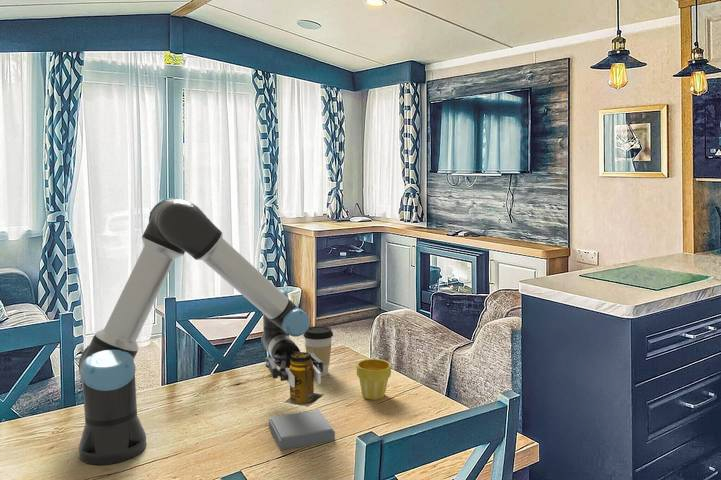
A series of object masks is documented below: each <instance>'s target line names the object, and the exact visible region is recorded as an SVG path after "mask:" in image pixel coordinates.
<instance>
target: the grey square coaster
mask: <svg viewBox="0 0 721 480" xmlns="http://www.w3.org/2000/svg"><path fill="white" fill-rule="evenodd" d="M268 429H269V430H270V432H271V433H270V434H271V435H272V436H273V438H274V441H275V442H276V444H277V446H278V448H279V450H280V451H283V450H288V449H289V450H290V449H294V448H300V447H305V446H309V445H316V444H322V443H327V442H333V441H335V440H336V434H335V433H336V431H335V430H334V428H333V427H332V425H331V424H330V423H329V421H328V420H327V419H326V417H325V416H324V415H323V413H322V412H321V411H320V409H314V410H309V411H308V410H307V411H303V412H296V413H290V414H283V415H276V416H271V417H270V418H268Z"/></svg>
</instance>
